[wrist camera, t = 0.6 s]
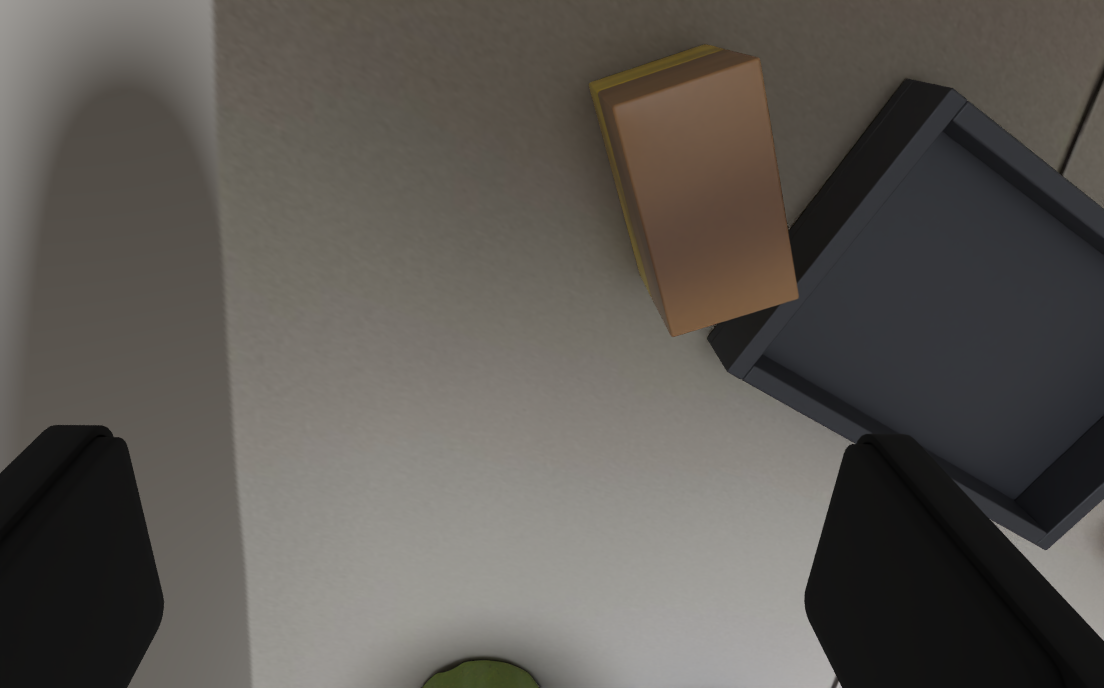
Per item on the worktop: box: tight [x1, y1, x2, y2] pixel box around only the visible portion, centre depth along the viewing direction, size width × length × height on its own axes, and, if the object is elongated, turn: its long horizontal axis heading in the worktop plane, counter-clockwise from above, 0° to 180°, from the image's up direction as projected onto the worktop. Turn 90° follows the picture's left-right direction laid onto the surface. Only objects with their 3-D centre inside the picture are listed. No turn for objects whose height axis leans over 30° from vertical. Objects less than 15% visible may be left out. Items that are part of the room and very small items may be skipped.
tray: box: [707, 79, 1104, 550], centre depth 31 cm, size 20×13×3 cm, turn 58°
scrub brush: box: [589, 44, 799, 337], centre depth 25 cm, size 8×4×6 cm, turn 17°
